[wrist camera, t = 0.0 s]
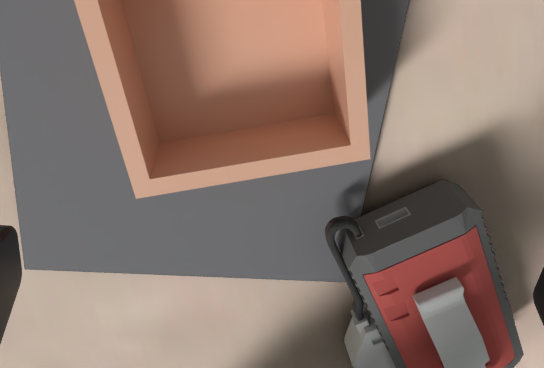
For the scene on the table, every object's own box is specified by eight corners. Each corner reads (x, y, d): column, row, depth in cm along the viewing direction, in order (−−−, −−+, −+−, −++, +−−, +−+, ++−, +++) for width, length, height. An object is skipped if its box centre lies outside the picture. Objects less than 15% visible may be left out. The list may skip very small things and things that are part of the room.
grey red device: (279, 227, 25) (400, 448, 35) (294, 286, 21) (426, 516, 31) (450, 150, 24) (525, 398, 34) (498, 197, 20) (568, 462, 30)
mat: (344, 277, 28) (345, 282, 27) (27, 264, 26) (24, 269, 25) (460, -244, 18) (464, -247, 17) (-45, -335, 16) (-51, -340, 15)
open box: (347, 121, 23) (370, 159, 20) (149, 154, 23) (136, 198, 19) (329, -107, 19) (353, -111, 15) (86, -67, 19) (54, -62, 15)
